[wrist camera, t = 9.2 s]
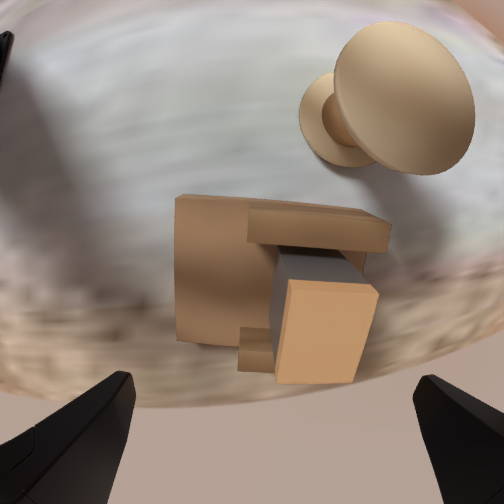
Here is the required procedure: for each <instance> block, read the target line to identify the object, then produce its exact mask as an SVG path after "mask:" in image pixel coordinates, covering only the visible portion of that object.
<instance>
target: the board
mask: <svg viewBox="0 0 504 504" xmlns="http://www.w3.org/2000/svg"><path fill="white" fill-rule="evenodd" d="M391 225H392V224H390V223H388V222H386V221H384V220H382V219H380V218H378V217H376V216H374V215H371V214H369V213H367V212H365V211H363V210H361V209H354V208H345V207H337V206H328V205H319V204H309V203H299V202H288V201H277V200H265V199H253V198H239V197H224V196H207V195H188V194H183V195H181V196H179V197H177V198H175V226H174V279H175V315H176V336H177V341H183V342H192V343H202V344H213V345H225V346H238V347H239V352H238V371H243V372H262V373H275V367H274V358H273V349H272V341H271V332H270V324H269V310H270V302H271V294H272V286H273V278H274V269H275V261H276V252H277V245H287V246H300V247H313V248H324V249H336V250H339V251H340V252H341V253H342V254H343V255H344V256H345V257H346V259H347V260H348V261H349V262H350V263H351V264H352V265H353V266H354V267H355V268H356V269H357V270H358V271H359V272H360V274H361V275H362V273H363V268H364V263H365V258H366V253H367V252H375V253H387V248H388V242H389V237H390V231H391Z"/></svg>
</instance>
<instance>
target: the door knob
mask: <svg viewBox="0 0 504 504" xmlns="http://www.w3.org/2000/svg"><path fill="white" fill-rule="evenodd" d="M299 122H300V127H301V131H302V133H303V136H304V138H305V140H306V142H307V143H308V145H309V146H310V147H311V149H312V150H313V151H314V152H315V153H316V154H317V155H319V156H320V157H321V158H323V159H324V160H326V161H328V162H330V163H332V164H335V165H338V166H342V167H353V168H355V167H363V166H367V165H370V164H372V163H374V162H376V161H377V162H379V163H380V164H382V165H384V166H385V167H388V168H390V169H392V170H395V171H398V172H402V173H408V174H416V175H434V174H439V173H442V172H444V171H446V170H448V169H450V168H452V167H453V166H454V165H455V164H457V163H458V162H459V161H460V159H461V158H462V157H463V156H464V154H465V153H466V151H467V150H468V147H469V145H470V143H471V140H472V137H473V133H474V127H475V106H474V100H473V95H472V92H471V88H470V85H469V83H468V80H467V78H466V76H465V74H464V72H463V70H462V68H461V67H460V65H459V63H458V62H457V60H456V59H455V58H454V56H453V55H452V54H451V53H450V52H449V51H448V49H447V48H446V47H445V46H444V45H443V44H441V43H440V42H439V41H438V40H437V39H435V38H434V37H433V36H431V35H430V34H428V33H427V32H425V31H423V30H421V29H419V28H417V27H415V26H412V25H409V24H406V23H401V22H391V21H387V22H379V23H375V24H371V25H369V26H367V27H365V28H363V29H362V30H360V31H359V32H358V33H357V34H356V35H355V36H354V37H353V38H352V39H351V40H350V41H349V42H348V43H347V44H346V45H345V47H344V48H343V50H342V51H341V53H340V55H339V57H338V59H337V62H336V66H335V69H334V72H332V73H328V74H326V75H323V76H322V77H320V78H318V79H317V80H316V81H315V82H314V83H313V84H312V85H311V86H310V87H309V88H308V90H307V91H306V92H305V94H304V96H303V98H302V100H301V104H300V108H299Z"/></svg>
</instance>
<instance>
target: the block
mask: <svg viewBox="0 0 504 504" xmlns="http://www.w3.org/2000/svg"><path fill="white" fill-rule="evenodd" d="M378 297H379V293H378V292H377V291H376V290H375V289H374V288H373V287H372V286H371V285H370V283H369V282H368V281H367V280H366V279H365V278H364V277H363V276H362V275H361V274H360V272H359V271H358V270H357V269H356V268H355V267H354V266H353V265H352V264H351V263H350V262H349V261H348V260H347V259H346V257H345V256H344V255H343V254H342V253H341V252H340V251H339V250H336V249H324V248H313V247H300V246H287V245H277V252H276V261H275V269H274V278H273V286H272V294H271V302H270V310H269V324H270V332H271V341H272V349H273V358H274V367H275V376H276V383H285V384H324V383H352V381H353V378H354V376H355V373H356V370H357V367H358V364H359V361H360V358H361V355H362V352H363V349H364V346H365V343H366V339H367V336H368V333H369V329H370V326H371V323H372V319H373V315H374V312H375V308H376V304H377V301H378Z"/></svg>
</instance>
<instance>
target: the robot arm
mask: <svg viewBox="0 0 504 504" xmlns="http://www.w3.org/2000/svg"><path fill="white" fill-rule="evenodd" d="M11 34H12V33H11V32H10V31H6V32H4V33H2V34H0V79H1V74H2V69H3V65H4V61H5V56H6V52H7V49H8V45H9V41H10V38H11ZM135 400H136V391H135V386H134V382H133V377H132V375H131V373H129V372H124V371H116V372H115V373H113V374H112V375H110V376H109V377H107V378H106V379H104V380H103V381H101V382H100V383H98V384H97V385H95V386H94V387H92V388H91V389H89V390H88V391H86V392H85V393H83V394H82V395H80V396H79V397H77V398H76V399H74V400H73V401H71V402H70V403H68V404H67V405H65V406H64V407H62V408H61V409H59V410H57V411H56V412H54V413H53V414H51V415H50V416H48V417H47V418H45V419H44V420H42V421H41V422H39V423H37V424H36V425H35V426H34V427H31V428H29V429H28V430H26V431H25V432H23V433H22V434H20V435H18V436H17V437H15V438H13V439H12V440H9V441H7V442H5V443H4V444H1V445H0V504H107V502H108V499H109V495H110V492H111V489H112V486H113V482H114V479H115V476H116V473H117V470H118V467H119V463H120V460H121V457H122V454H123V451H124V448H125V445H126V442H127V438H128V433H129V428H130V423H131V419H132V414H133V409H134V405H135ZM413 403H414V406H415V410H416V414H417V418H418V422H419V426H420V430H421V433H422V437H423V440H424V443H425V445H426V449H427V451H428V454H429V457H430V460H431V463H432V466H433V469H434V472H435V476H436V479H437V482H438V485H439V488H440V492H441V495H442V499H443V502H444V504H504V413H502V412H500V411H498V410H497V409H495V408H493V407H491V406H489V405H487V404H486V403H484V402H482V401H480V400H479V399H476V398H475V397H473V396H471V395H470V394H468V393H466V392H464V391H462V390H461V389H459V388H456V387H455V386H453V385H451V384H450V383H448V382H446V381H444V380H443V379H441V378H439V377H437V376H435V375H433V374H431V375H425V376H423V377H422V378H421V379H420V381H419V383H418V385H417V387H416V389H415V391H414V393H413Z"/></svg>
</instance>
